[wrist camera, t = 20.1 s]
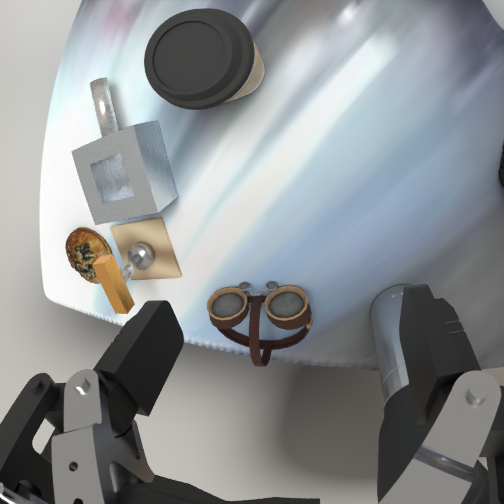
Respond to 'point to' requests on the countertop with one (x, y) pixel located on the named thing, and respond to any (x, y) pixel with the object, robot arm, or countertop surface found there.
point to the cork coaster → (157, 238)
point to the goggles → (278, 310)
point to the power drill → (502, 170)
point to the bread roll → (86, 252)
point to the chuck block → (123, 166)
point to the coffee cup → (203, 59)
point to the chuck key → (122, 274)
